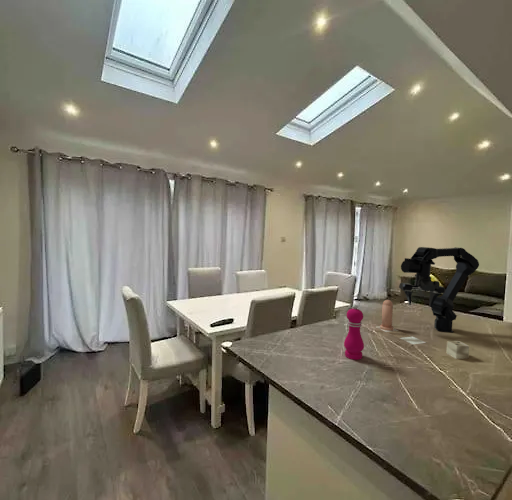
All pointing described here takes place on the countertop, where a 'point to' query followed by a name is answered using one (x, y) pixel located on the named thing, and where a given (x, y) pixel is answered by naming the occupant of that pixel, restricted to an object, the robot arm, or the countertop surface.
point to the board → (401, 334)
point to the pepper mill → (354, 334)
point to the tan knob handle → (387, 316)
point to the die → (457, 350)
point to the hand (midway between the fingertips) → (420, 305)
